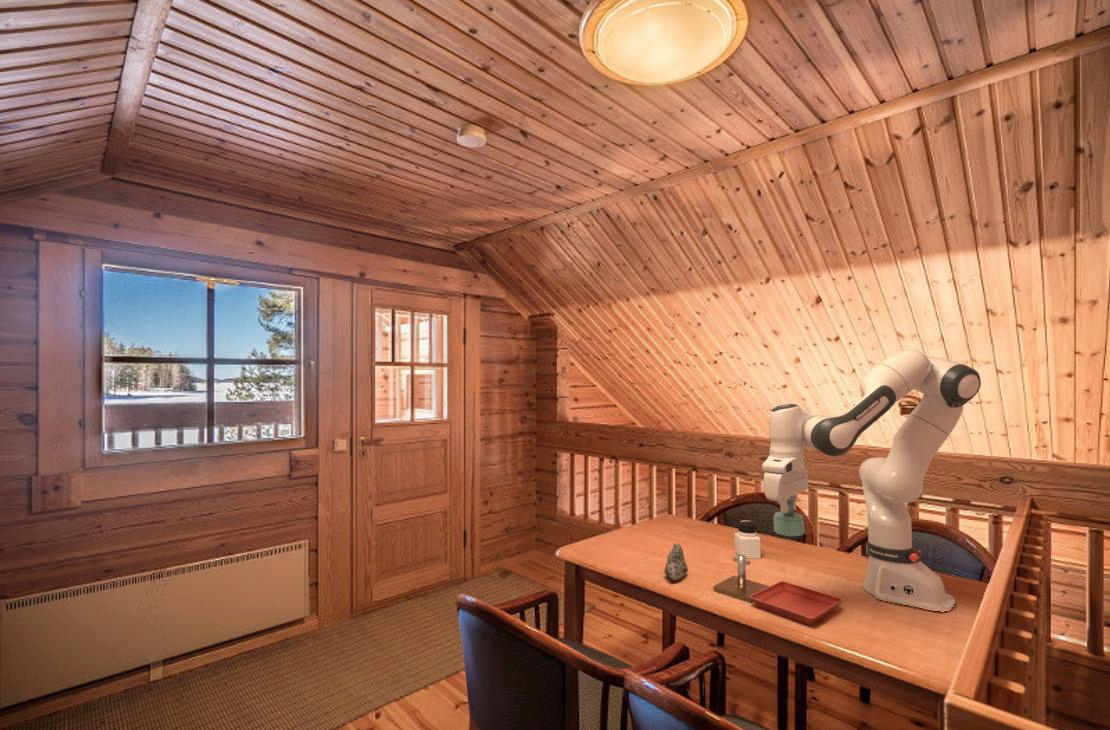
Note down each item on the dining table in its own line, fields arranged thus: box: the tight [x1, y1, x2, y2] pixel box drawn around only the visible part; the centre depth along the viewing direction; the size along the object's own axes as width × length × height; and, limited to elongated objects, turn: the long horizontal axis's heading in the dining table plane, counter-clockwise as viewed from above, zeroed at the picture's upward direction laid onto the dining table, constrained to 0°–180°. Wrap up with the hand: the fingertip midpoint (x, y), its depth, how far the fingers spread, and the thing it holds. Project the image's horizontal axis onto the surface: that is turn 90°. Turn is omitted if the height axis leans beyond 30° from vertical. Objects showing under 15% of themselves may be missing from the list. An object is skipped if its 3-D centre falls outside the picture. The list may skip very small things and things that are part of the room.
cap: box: [773, 499, 806, 537], centre depth 152 cm, size 7×7×9 cm
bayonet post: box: [712, 554, 771, 604], centre depth 161 cm, size 12×12×10 cm
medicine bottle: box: [734, 520, 762, 560], centre depth 193 cm, size 7×7×12 cm
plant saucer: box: [750, 580, 843, 625], centre depth 150 cm, size 18×18×3 cm
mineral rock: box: [664, 542, 689, 581], centre depth 174 cm, size 13×11×10 cm
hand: (788, 511), depth 152 cm, fingers closed on cap, 3 cm apart
